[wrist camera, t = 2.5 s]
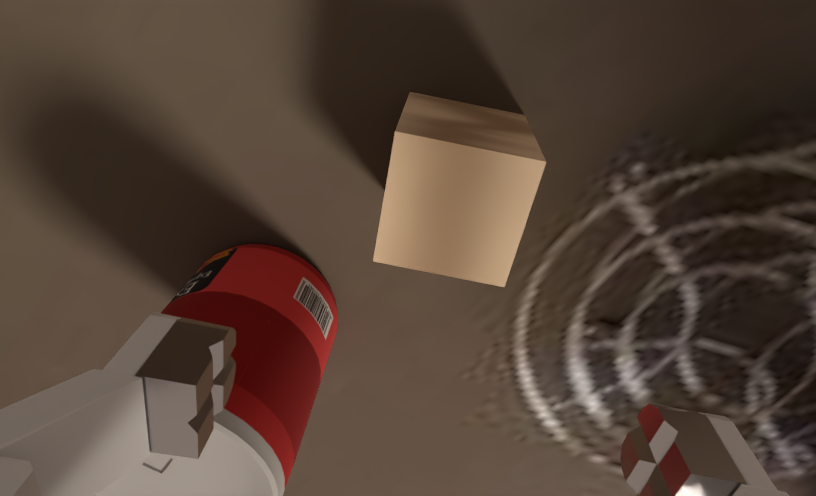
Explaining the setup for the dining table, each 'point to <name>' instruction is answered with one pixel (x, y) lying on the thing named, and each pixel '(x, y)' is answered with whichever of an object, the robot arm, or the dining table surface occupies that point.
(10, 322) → the dining table surface
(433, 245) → the oak block
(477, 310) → the dining table surface
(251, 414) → the canned food
